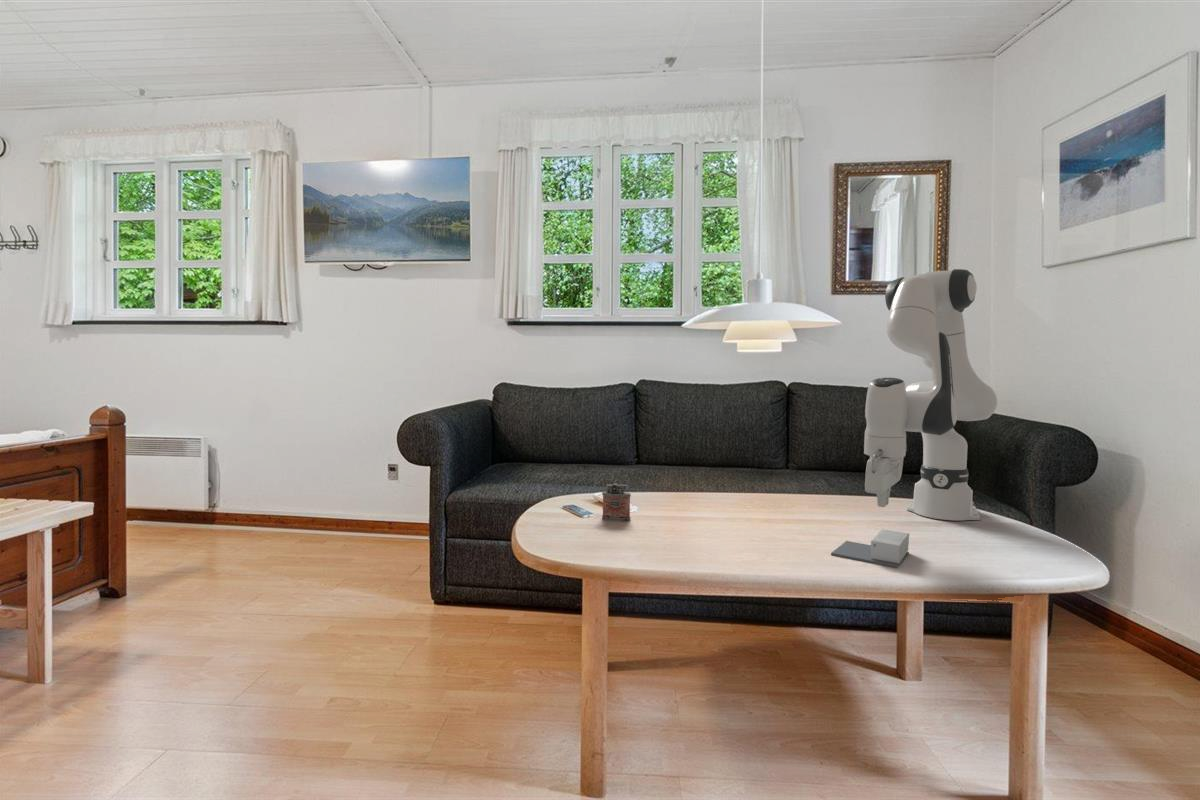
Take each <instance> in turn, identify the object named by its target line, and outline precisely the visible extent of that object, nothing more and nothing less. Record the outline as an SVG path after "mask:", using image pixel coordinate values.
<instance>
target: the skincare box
mask: <svg viewBox="0 0 1200 800" xmlns="http://www.w3.org/2000/svg"><path fill="white" fill-rule="evenodd" d="M909 542H910V533H909V532H904V531H897V530H892V529H891V530H890V529H884V528H882V529H880V531H879V532H878V533H877V534H876V535H875V536H874V537H873V538H872V540H871V541H870V545H871V559H875V560H881V561H887V562H893V563H898V564H899V563H900V562H901V560H902V559H903V557H904V556H905V554H906V553H907V552H909V551H908V550H909V544H910V543H909Z"/></svg>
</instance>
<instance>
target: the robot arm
mask: <svg viewBox="0 0 1200 800" xmlns="http://www.w3.org/2000/svg"><path fill="white" fill-rule="evenodd" d="M976 282H977V281H976V279H975V277H974V274H973V273H971V272H970V271H969V270H968V269H962V268H957V269H956V268H955V269H952V270H935V271H928V272H926V273H920V274H915V275H910V276H907V277H903V276H901V277H899V278H896V279H893V280H892V281H890V283H889V284H888V285H887V286H886V288H885V294H884V295H885V296H884V297H885V298H884V299H885V305H886V307H887V309H888V311H889V313H888V318H887V325H886V327H887V328H886V333H887V337H888V338H889V340H890V341H891V343H892V344H893V345H894V346H895V347H897V348H898V349H900V350H901V351H903V352H906V353H908V354H911V355H915V356H918V357H921V360H922V362H923V364H924V365H925V366H926V368H928V369H930V370H931V372H932V373H931V375H932V380H924V381H917V382H912V383H910V384H908V386H906V383H905V381H904V380H903V379H901V378H897V377H881V378H880V377H879V378H875V379H873V380H871V381H869V384H868V387H867V392H866V397H865V398H866V400H865V409H864V410H865V411H864V413H865V414H864V417H865V420H866V427H865V430H864V439H863V440H864V441H863V442H864V444H863V450H864V451H863V454H864V455H866V456H869V459H868V460H867V462H866V468H865V478H864V481H865V482H864V490H865V492H866V493H868V494H874V495H875V494H876V498H877V503H876V504H877V506H878V507H879V508H880V507H881V508H885V507H886V506H888V505H889V504H890V503H889V500H890V499H889V498H890V494H891V490H892V489H891V488H892V486H894V485H895V484H897V483H898V482H899V481H901V477H902V474H903V467H904V460H905V459H904V458H905V457H906V454H907V453H906V452H907V451H908V449H907V448H908V445H907V432H910V433H911V432H912V433H913V432H915V433H921V437H922V445H923V446H922V449H923V451H922V454H923V455H922V464H921V467H920V477H921V478H920V480H918V481H917V482H915V483H914V490H913V500H912V501H913V502H912V504H910V505H907V506H906V511H909V512H911V513H912V512H913V513H915V514H916V515H919V516H921V517H922V516H923V517H925V518H926V517H927V518H929V519H936V520H941V521H942V520H944V521H956V522H957V521H958V522H960V521H980V520H981V515H980V514H979V511H978V509H977V508H976V506H975V502H974V501H973V493H974V492H973V489H972V488H971V487H970V485H968V481H969V469H968V468H967V466H968V465H967V464H968V462H967V461H968V448H969V446H968V442H967V440H966V438H965V437H964V436H963V435H961V434H959V432H957V431H956V429H954V427H955V426H956V423H957V421H962V422H975V421H976V422H977V421H983V420H988V419H989V418H990V417H991V416H993V414H994V413H995V412H996V409H997V407H998V406H997V405H998V398H997V394H996V392H995V391H994V389H993V388H992V387H990V386H989V385H987V384H986V383H985V382H984V381H982V380H981V378H980V377H979V376H978V374H976V371H975V370H974V368H973V366H972V365H971V362H970V360H969V355H968V351H967V342H966V341H967V340H966V330H965V321H964V315H963V312H964V310H965V309H967V308H969V307H970V306H971V305H972V303H973V302H974V301H975V299H976V295H977V294H976V293H977V283H976Z"/></svg>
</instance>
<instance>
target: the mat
mask: <svg viewBox="0 0 1200 800" xmlns="http://www.w3.org/2000/svg"><path fill="white" fill-rule="evenodd" d="M830 555H831V556H834V555H835V557H839V556H840V558H844V557H845V559H849V558H850V559H851V560H854V559H855V561H859V562H864V561H865V563H869V562H870V564H875V565H880V564H881V566H885V565H886V567H890V566H891V568H896V569H898V568H899V567H900V565H901V564H903V563H904V561H905V560H906V558H907V557H908V556H909V555H910V551H907V553H906V554H905V556H904V557H903V559H902V560H901V562H900V563H899V564H898V563H893V562H887V561H881V560H875V559H871V544H867V543H860V542H854V541H849V540H845V542H843V543H842V544H840V545H839V546H838V547H837V548H835V549H834V550H833V551H832V552H831V553H830ZM904 559H905V560H904ZM898 566H899V567H898Z"/></svg>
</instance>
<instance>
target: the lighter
mask: <svg viewBox="0 0 1200 800" xmlns="http://www.w3.org/2000/svg"><path fill="white" fill-rule="evenodd" d="M628 490H629V485H628V484H618V483H613V484H606V491H602V494H601V495H602V515H601V519H602V520H604V521H610V522H611V521H612V522H625V523H626V522H627V523H628V522H630V521H631V515H630V513H631V496H632V495H631V493H630V492H626V491H628Z"/></svg>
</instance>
